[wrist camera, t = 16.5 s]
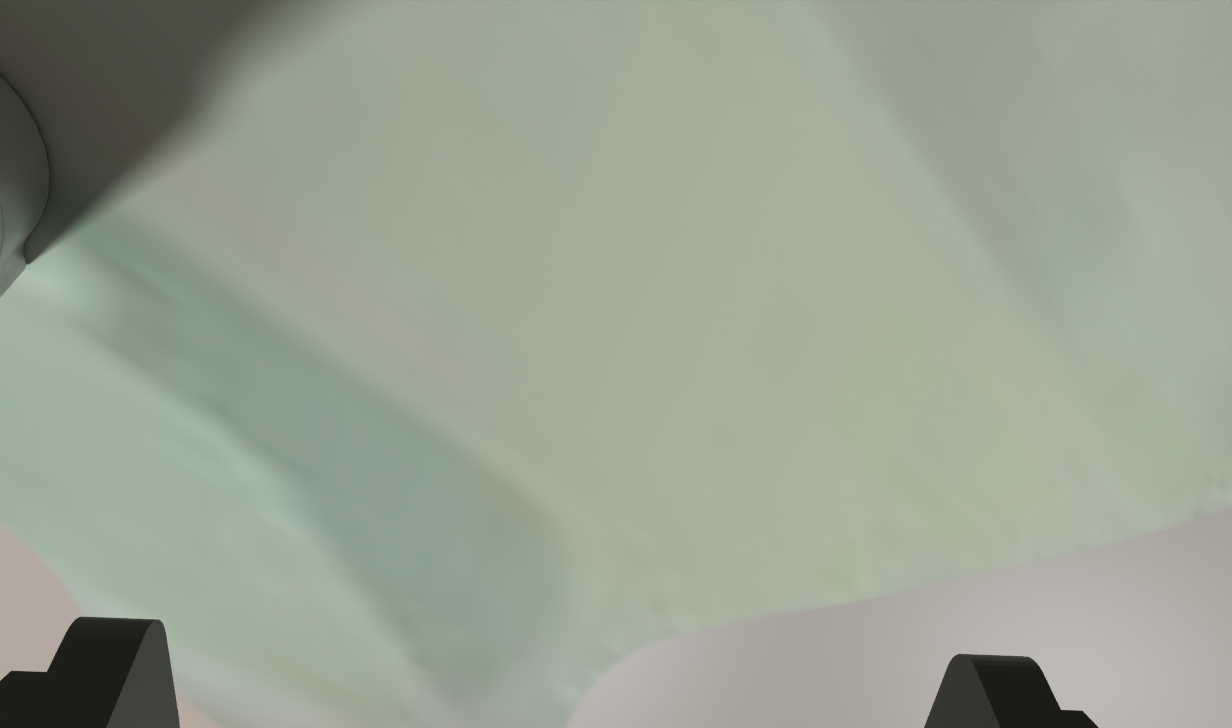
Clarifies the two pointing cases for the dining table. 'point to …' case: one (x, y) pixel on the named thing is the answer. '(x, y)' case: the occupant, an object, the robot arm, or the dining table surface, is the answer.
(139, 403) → the dining table surface
